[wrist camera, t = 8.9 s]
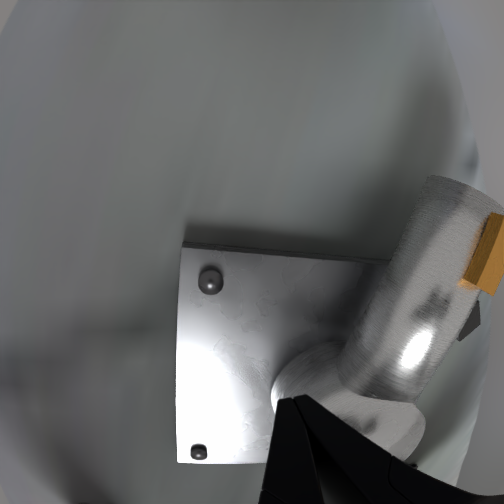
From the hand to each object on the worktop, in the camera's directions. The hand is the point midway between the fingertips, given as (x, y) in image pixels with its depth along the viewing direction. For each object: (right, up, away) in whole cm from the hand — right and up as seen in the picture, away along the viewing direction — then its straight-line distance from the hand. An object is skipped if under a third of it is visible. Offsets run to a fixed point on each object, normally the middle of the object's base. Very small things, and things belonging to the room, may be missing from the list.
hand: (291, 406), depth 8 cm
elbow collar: (+5, 0, +9) cm, 10 cm away
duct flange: (+3, -4, +11) cm, 12 cm away
